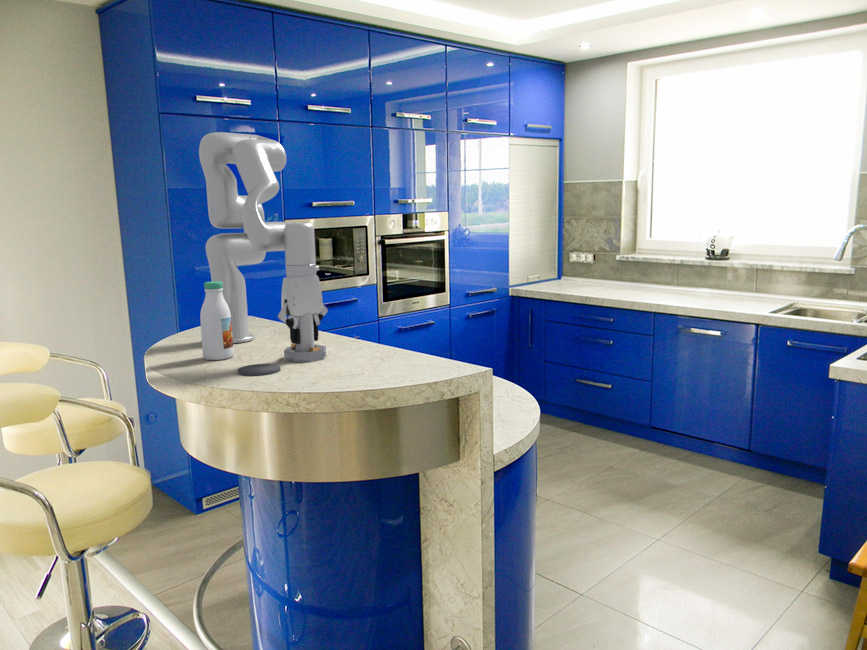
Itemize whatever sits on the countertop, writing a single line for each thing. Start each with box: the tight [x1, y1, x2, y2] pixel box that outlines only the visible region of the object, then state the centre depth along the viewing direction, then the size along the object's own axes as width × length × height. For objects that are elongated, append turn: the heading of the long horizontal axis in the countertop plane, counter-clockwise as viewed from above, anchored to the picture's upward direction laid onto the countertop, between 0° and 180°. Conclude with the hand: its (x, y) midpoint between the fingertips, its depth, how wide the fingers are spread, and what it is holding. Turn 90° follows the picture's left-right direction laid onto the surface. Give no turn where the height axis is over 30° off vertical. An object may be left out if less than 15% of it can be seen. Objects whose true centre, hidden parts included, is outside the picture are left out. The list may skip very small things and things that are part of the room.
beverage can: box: [296, 312, 315, 351], centre depth 177 cm, size 5×5×12 cm
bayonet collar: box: [283, 343, 327, 363], centre depth 178 cm, size 10×10×3 cm
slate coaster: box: [236, 363, 281, 377], centre depth 164 cm, size 10×10×1 cm
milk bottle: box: [199, 281, 235, 361], centre depth 178 cm, size 8×8×20 cm
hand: (304, 341), depth 177 cm, fingers closed on beverage can, 4 cm apart
